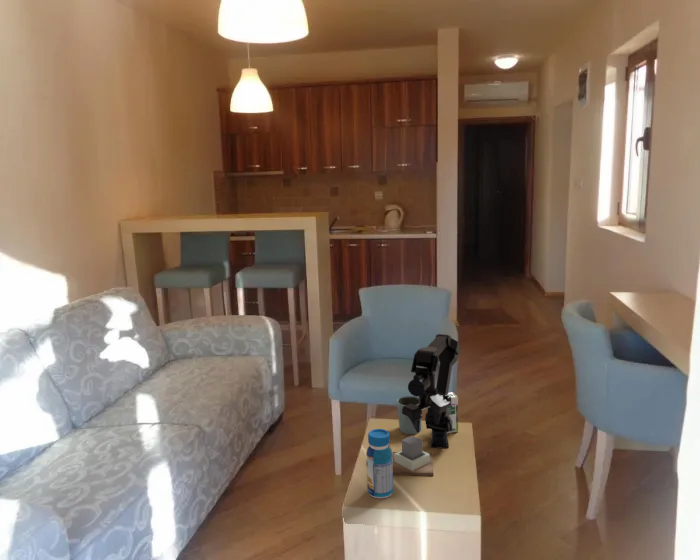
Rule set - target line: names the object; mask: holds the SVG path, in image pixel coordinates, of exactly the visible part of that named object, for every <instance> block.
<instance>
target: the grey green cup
mask: <svg viewBox="0 0 700 560" xmlns="http://www.w3.org/2000/svg"><path fill="white" fill-rule="evenodd" d="M418 398H419V396H418V397H417V396H413V395H406V396H405V395H404V396H401V397H399V398H397V399H396V407H397V416H398V424H399V431H400V432H401V433H402V432H403V433H402V434H405V435H416V434H419V433H420V432H421V431H422V418H423V413H422V414H421V416H422V418H421V419H420V430H419V433H418V432H416V430H415V428H414V426H413V424H412V422H411V420H410V419H409V417H408V416H406V415H404V414H402V407H403V406H405V405H408V404H414V405H416V406H417V405H419V403H417V402H416V399H418Z"/></svg>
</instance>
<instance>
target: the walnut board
mask: <svg viewBox="0 0 700 560" xmlns="http://www.w3.org/2000/svg"><path fill="white" fill-rule="evenodd" d="M397 452H398V451H392V453H393V454H392V458H393V476H394V474H395V476H396V475H397V474H398V475H399V476H402V475H403V476H427V477H428V476H434V462H433V453H432V452H427V453H428V454H430V463H428V464H426V465H424V466H421V467H419V468H417V469H415V470H413V471H411V470H409V469H408V468H406V467H404V466H402V465H400V464H398V463H396V462H395V457H394V453H397ZM398 475H397V476H398Z"/></svg>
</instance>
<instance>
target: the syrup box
mask: <svg viewBox="0 0 700 560" xmlns="http://www.w3.org/2000/svg"><path fill="white" fill-rule="evenodd" d="M448 394H449V395H450V396H451V406H448V410H449V417H450V418H451V420H452V422H453V423H452V425H453V426H452V431H449V432H447V434H452V433H458V432H459V397H458V396H457V394H455V392H452V391H450V392H448Z"/></svg>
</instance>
